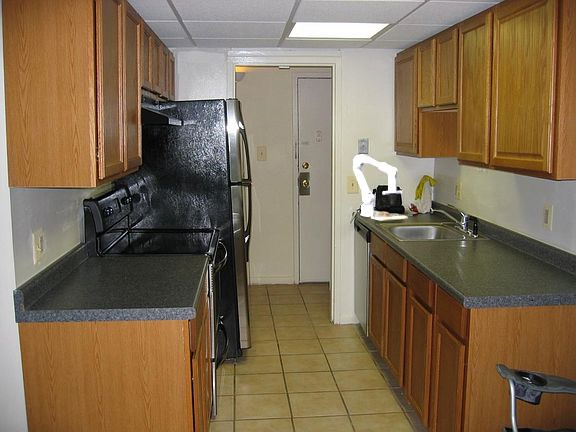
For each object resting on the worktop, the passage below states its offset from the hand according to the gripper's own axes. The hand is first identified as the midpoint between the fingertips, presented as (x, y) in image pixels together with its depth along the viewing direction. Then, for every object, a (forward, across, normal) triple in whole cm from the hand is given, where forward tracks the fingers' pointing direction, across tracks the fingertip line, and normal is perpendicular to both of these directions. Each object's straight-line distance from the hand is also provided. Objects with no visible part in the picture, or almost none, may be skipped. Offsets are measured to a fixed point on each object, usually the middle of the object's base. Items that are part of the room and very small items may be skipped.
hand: (392, 204), depth 444 cm
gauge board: (+9, -6, -6) cm, 12 cm away
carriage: (+8, -8, -6) cm, 13 cm away
